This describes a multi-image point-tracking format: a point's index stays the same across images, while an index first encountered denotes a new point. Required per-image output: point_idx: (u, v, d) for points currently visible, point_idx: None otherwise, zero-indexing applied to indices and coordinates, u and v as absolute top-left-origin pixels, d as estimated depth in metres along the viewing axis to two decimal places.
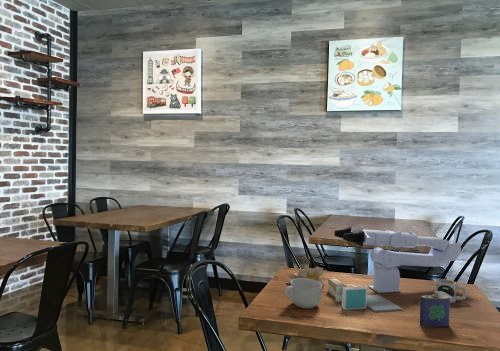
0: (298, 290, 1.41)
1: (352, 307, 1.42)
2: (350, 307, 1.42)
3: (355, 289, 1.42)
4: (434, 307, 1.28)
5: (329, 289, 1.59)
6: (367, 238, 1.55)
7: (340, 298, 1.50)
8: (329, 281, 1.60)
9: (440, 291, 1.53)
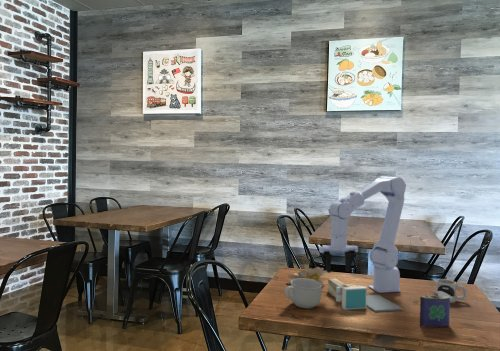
0: (298, 290, 1.41)
1: (352, 307, 1.42)
2: (350, 307, 1.42)
3: (355, 289, 1.42)
4: (434, 308, 1.28)
5: (329, 289, 1.59)
6: None
7: (340, 298, 1.50)
8: (329, 281, 1.60)
9: (440, 291, 1.53)
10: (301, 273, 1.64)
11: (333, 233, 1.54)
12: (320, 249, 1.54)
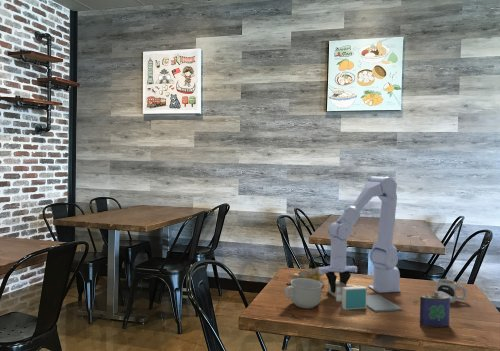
0: (298, 290, 1.41)
1: (352, 307, 1.42)
2: (350, 307, 1.42)
3: (355, 289, 1.42)
4: (434, 307, 1.28)
5: (329, 289, 1.59)
6: None
7: (340, 298, 1.50)
8: None
9: (440, 291, 1.53)
10: (301, 273, 1.64)
11: (332, 254, 1.54)
12: (319, 270, 1.54)
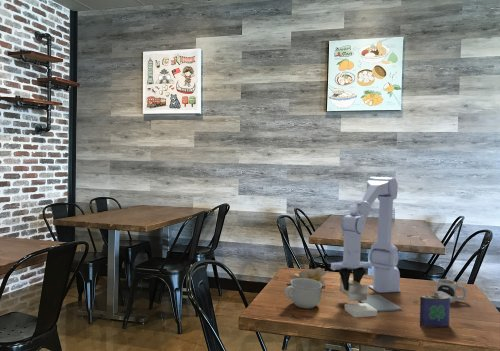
0: (298, 290, 1.41)
1: None
2: None
3: None
4: (434, 308, 1.28)
5: (341, 288, 1.49)
6: None
7: (354, 297, 1.40)
8: (341, 279, 1.50)
9: (440, 291, 1.53)
10: (302, 274, 1.63)
11: (349, 249, 1.43)
12: (332, 266, 1.44)
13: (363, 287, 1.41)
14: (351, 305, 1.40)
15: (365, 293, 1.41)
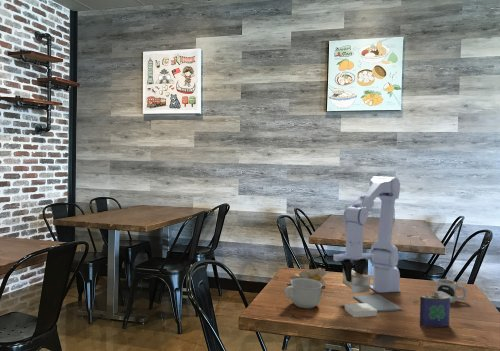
0: (298, 290, 1.41)
1: None
2: None
3: (364, 316, 1.36)
4: (434, 308, 1.28)
5: (344, 280, 1.50)
6: None
7: (357, 289, 1.41)
8: None
9: (440, 291, 1.53)
10: (302, 274, 1.63)
11: (351, 241, 1.44)
12: (334, 257, 1.44)
13: (366, 279, 1.41)
14: (351, 305, 1.41)
15: (368, 285, 1.41)
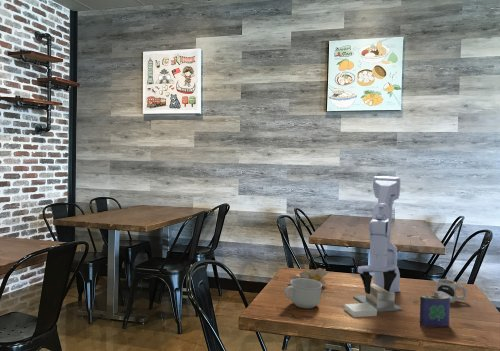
0: (298, 290, 1.41)
1: None
2: None
3: (364, 316, 1.36)
4: (434, 308, 1.28)
5: (368, 295, 1.51)
6: None
7: (382, 305, 1.42)
8: None
9: (440, 291, 1.53)
10: (303, 274, 1.62)
11: (378, 253, 1.45)
12: (359, 269, 1.46)
13: (391, 294, 1.43)
14: (351, 305, 1.41)
15: (392, 300, 1.43)
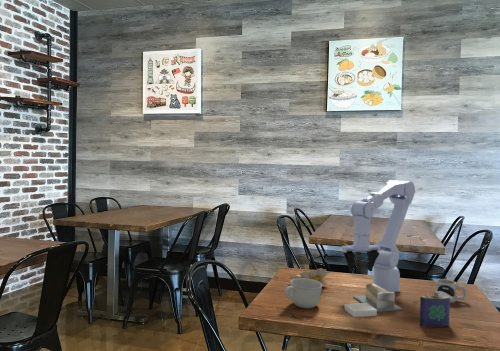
0: (298, 290, 1.41)
1: None
2: None
3: None
4: (434, 308, 1.28)
5: (368, 295, 1.51)
6: None
7: (382, 305, 1.42)
8: (367, 286, 1.52)
9: (440, 291, 1.53)
10: (303, 274, 1.62)
11: (357, 233, 1.53)
12: (343, 248, 1.54)
13: (391, 294, 1.43)
14: (350, 305, 1.41)
15: (392, 300, 1.43)
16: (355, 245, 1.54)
